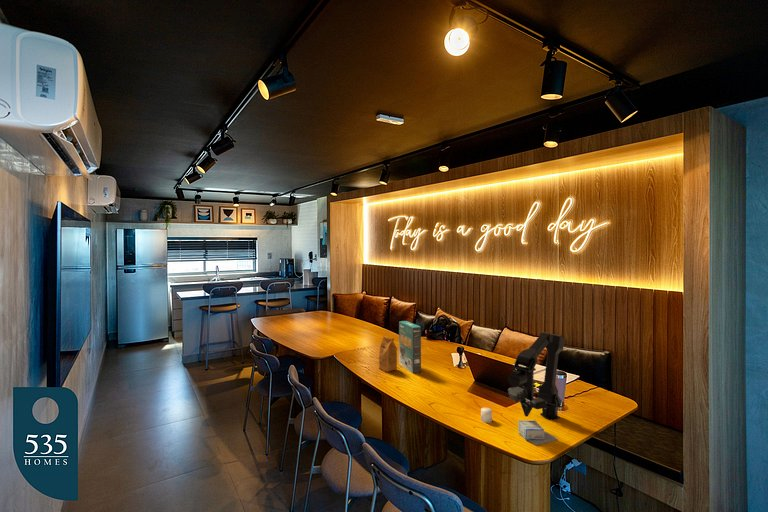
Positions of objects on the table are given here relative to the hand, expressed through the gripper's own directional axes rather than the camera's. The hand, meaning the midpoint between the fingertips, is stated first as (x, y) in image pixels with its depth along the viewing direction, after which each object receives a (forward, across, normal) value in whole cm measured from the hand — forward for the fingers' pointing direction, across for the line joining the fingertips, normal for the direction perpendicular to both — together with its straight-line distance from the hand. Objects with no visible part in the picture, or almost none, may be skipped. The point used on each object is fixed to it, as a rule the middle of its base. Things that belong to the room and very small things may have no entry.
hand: (526, 416), depth 164 cm
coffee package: (+6, -100, -27) cm, 104 cm away
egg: (+6, -14, -11) cm, 19 cm away
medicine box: (+4, +1, -1) cm, 4 cm away
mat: (+6, +7, 0) cm, 9 cm away
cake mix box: (+6, -97, -12) cm, 98 cm away
